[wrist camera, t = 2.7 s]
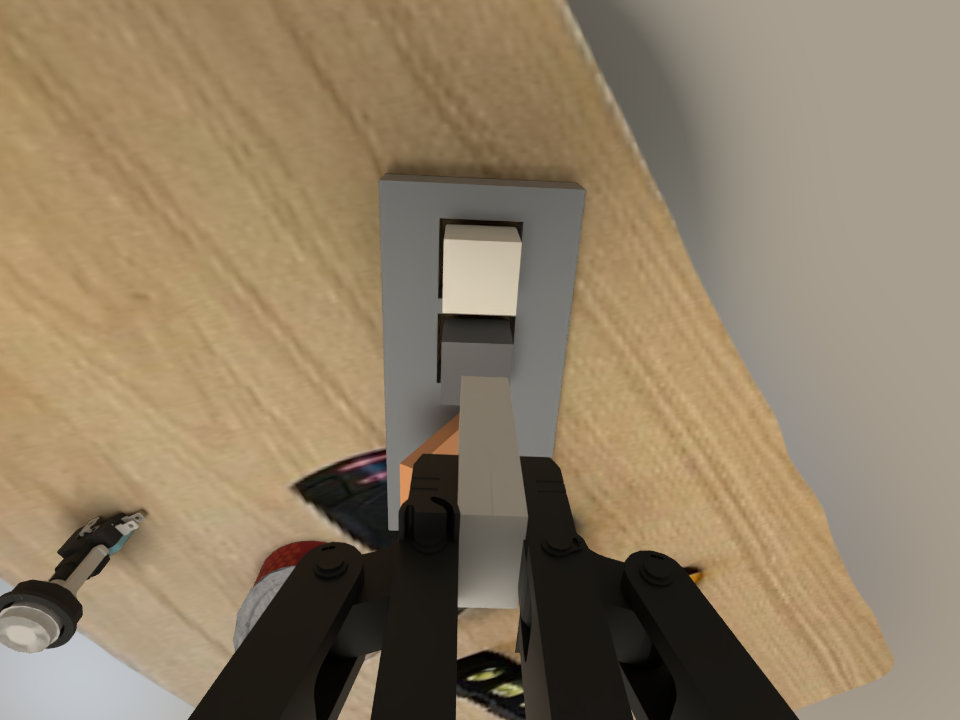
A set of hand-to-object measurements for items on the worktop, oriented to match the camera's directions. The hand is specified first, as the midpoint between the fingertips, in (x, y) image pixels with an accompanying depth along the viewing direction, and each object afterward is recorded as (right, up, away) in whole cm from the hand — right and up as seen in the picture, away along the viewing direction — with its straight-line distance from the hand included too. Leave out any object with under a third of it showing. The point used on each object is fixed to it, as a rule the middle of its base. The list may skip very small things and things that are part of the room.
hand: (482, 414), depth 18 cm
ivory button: (0, +8, +16) cm, 18 cm away
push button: (-30, -12, +28) cm, 43 cm away
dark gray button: (0, +3, +19) cm, 19 cm away
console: (-1, +1, +22) cm, 22 cm away
